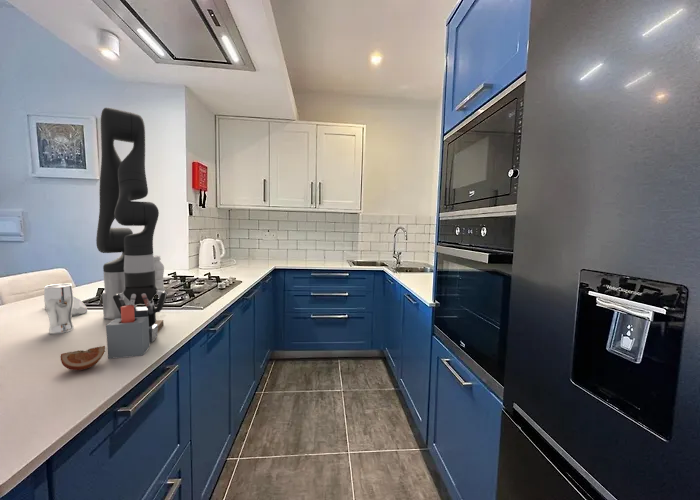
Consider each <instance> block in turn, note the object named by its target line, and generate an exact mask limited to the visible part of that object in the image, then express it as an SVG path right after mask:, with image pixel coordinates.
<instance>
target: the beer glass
mask: <svg viewBox="0 0 700 500" xmlns="http://www.w3.org/2000/svg"><path fill="white" fill-rule="evenodd" d="M43 292H44V294H43V297H44V299H43V302H44V308H45V307H46V308H45V310H46V313H47V316H48V320H49V326H48V327H49V328H48V334H51V335H59V334H60V335H61V334H65V333H68V332H71V331H74V330H75V327H74V324H73V321H72V317H73V316H72V310H73V303H74V297H75V296H74V289H73V284H72V283H57V284H54V283H53V284H50V285H46V286H44V291H43Z"/></svg>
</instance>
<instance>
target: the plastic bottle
mask: <svg viewBox="0 0 700 500" xmlns="http://www.w3.org/2000/svg"><path fill="white" fill-rule="evenodd" d="M153 256H154V262H155V284H156V288H157V290H158V291H162V292H164V291H166V290H165V285H164V274H165V273H164V272H165V266H164V264H163V263H162V262H161V255H153Z"/></svg>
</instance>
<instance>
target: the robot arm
mask: <svg viewBox="0 0 700 500" xmlns="http://www.w3.org/2000/svg"><path fill="white" fill-rule="evenodd" d="M115 141H119V142H124V143H131V144H133V145H132V148H131V150H130V151H129V153H128V154H127V155H126V156H125V157H124V159H123V160H121V157H120V156H119V153H118V152H117V150H116V147H115ZM100 142H101V143H100V145H101V147H100V149H101V161H100V163H101V164H100V175H99V192H98V193H99V195H98V196H99V212H98V220H97V229H96V239H95V241H96V247H97V250H98V252H99V253H103V254H114V253H115V254H116V253H121V255H120V256H119V257H117V258H116V259H114V260H111V261H108V262H106V263H104V264H103V266H102V269H103V270H102V271H103V286H104V288H103V289H104V291H103V292H102V294H101V296H102V311H103V319H108V320H114V319H117V318H121V307H122V306H125V305H134V309H135V308H136V307H138V305H140V304H141V305H145V307H146V308H147V309H148V312H149V327H151V326H153V325H154V324H155V322H156V320H157V314H156V313H160V312H161V311H162V310H163V308H164V305H165V302H166V299H167V296H168V291H166V290H165V291H164V292H162V291H158V290H157V288H156V284H155V262H154V256H155V255H154V236H155V235H154V234H155V230H156V226H157V223H158V221H159V220H158V219H159V214H160V213H159V212H160V211H159V209H158V207H157V205H156V204H155V203H153V202H150V201H137V200H141V199H144V198H146V197H147V196H148V194H149V187H148V182H147V176H146V175H147V174H146V126H145V121H144V119H143V117H142V116H141V115H140V114H138V113H134V112H130V111H125V110H121V109H117V108H112V107H104V108H103V109H102V111H101V114H100ZM115 220H116V222H117V223H118V224H119V225H120V226H127V227H112V225H113V222H114V221H115ZM134 226H135V227H137V226H138V227H139V226H140V227H142V226H143V229H142V230H141V231H139V232H136V233H133V230H132V229H131V228H130V227H134ZM156 294H157V295H158V298H159V300H158V302H157V305H156V307H155V302H154V300H153V298H154V296H155V295H156Z"/></svg>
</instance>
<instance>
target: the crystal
mask: <svg viewBox="0 0 700 500" xmlns="http://www.w3.org/2000/svg"><path fill="white" fill-rule="evenodd" d="M44 308H45V309H46V307H45V306H44ZM87 312H88V308H87V305H86V304H85V303H84V302H83V301H82V300H81V299H80V298H78V297H75V296H74V303H73V310H72V317H73V316H79V315H83V314H85V313H87Z"/></svg>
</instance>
